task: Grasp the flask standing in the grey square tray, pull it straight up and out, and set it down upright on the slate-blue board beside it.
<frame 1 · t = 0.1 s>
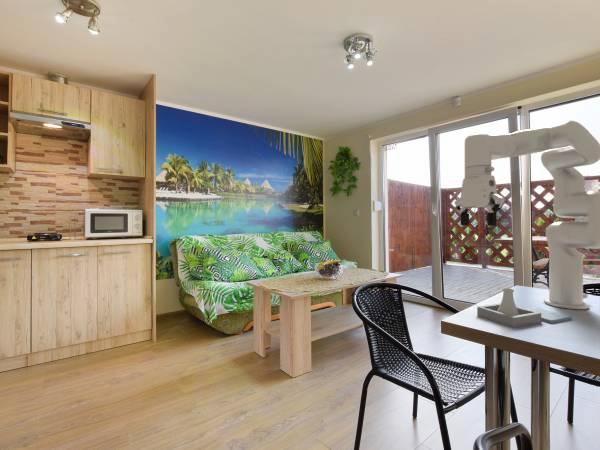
hand: (477, 225, 97), 31 cm above the table, tool pointing down, fingers open, 9 cm apart
grey square tray: (508, 318, 98), on the table
flask: (508, 319, 98), on the table
board: (544, 316, 99), on the table
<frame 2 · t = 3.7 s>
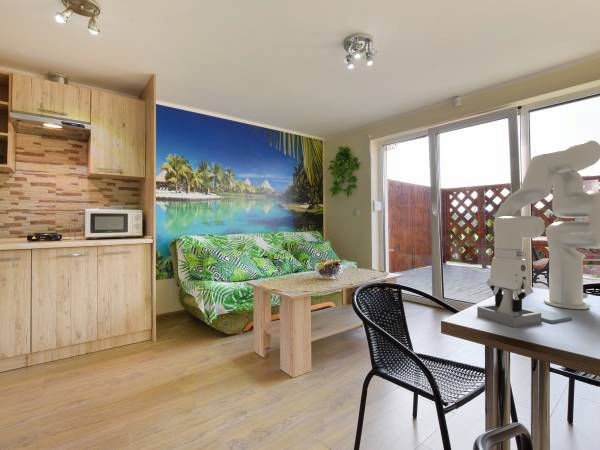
hand: (508, 308, 98), 3 cm above the table, tool pointing down, fingers closed on flask, 5 cm apart
flask: (508, 319, 98), on the table, touching gripper
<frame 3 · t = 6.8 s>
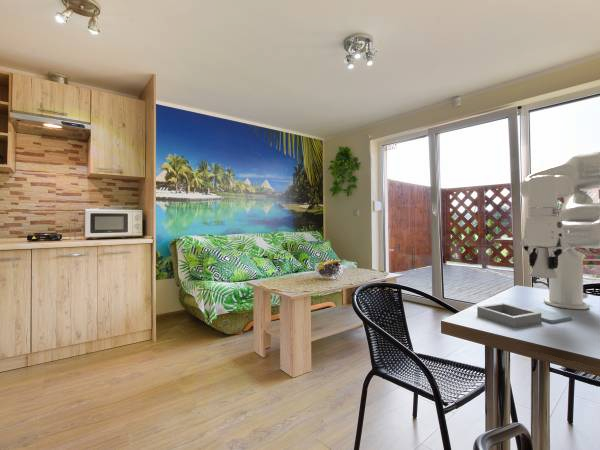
hand: (543, 266, 99), 17 cm above the table, tool pointing down, fingers closed on flask, 5 cm apart
flask: (543, 277, 99), point 13 cm above the table, touching gripper
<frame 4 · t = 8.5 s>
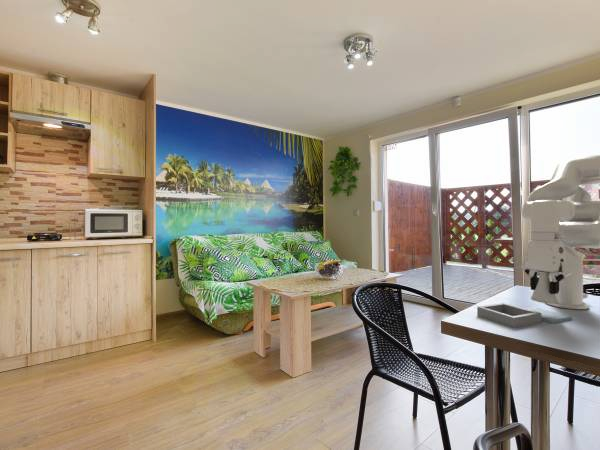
hand: (544, 291, 99), 9 cm above the table, tool pointing down, fingers closed on flask, 5 cm apart
flask: (544, 301, 99), point 5 cm above the table, touching gripper
when the fingers open (6 cm above the table, at t = 9.9 s): flask drops 1 cm, resting on board.
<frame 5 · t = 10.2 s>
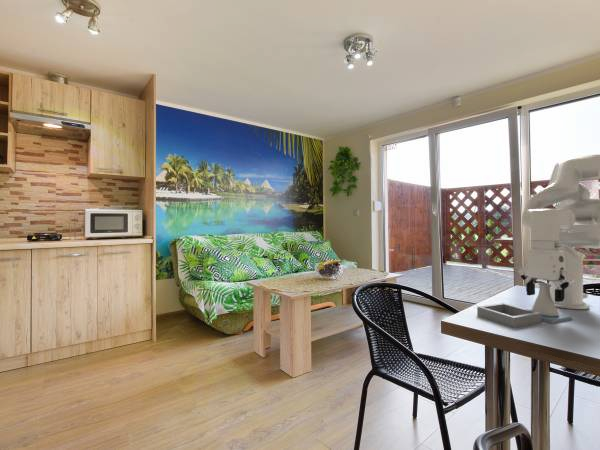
hand: (544, 297, 99), 6 cm above the table, tool pointing down, fingers open, 8 cm apart
flask: (544, 314, 99), point 1 cm above the table, touching board
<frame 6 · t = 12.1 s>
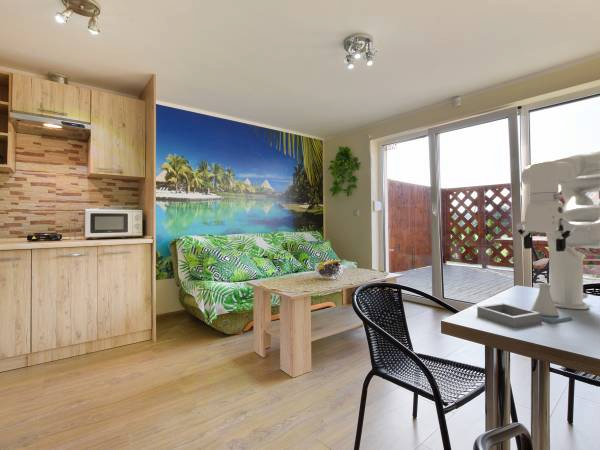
hand: (543, 249, 99), 23 cm above the table, tool pointing down, fingers open, 9 cm apart
nothing on the table moved.
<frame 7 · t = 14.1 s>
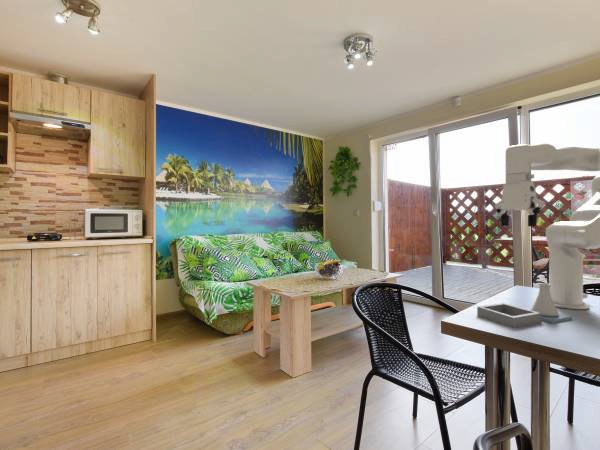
hand: (517, 226, 109), 30 cm above the table, tool pointing down, fingers open, 9 cm apart
nothing on the table moved.
at the end: flask inside the target area on the board (0.2 cm from its centre), point 0.8 cm above the board's base; flask tilted 0°; the gripper is holding nothing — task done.
